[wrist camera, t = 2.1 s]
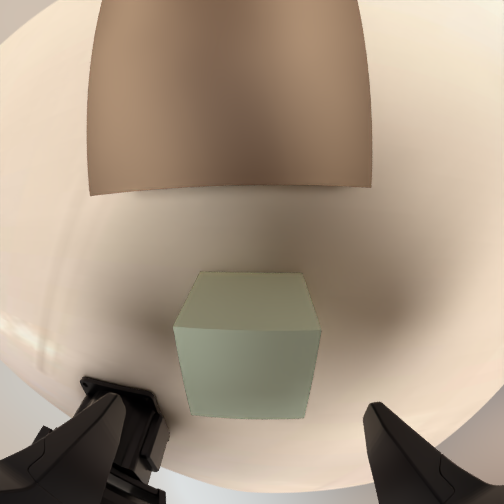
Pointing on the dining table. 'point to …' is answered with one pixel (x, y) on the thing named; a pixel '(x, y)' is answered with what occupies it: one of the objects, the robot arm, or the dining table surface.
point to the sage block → (248, 345)
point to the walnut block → (228, 95)
